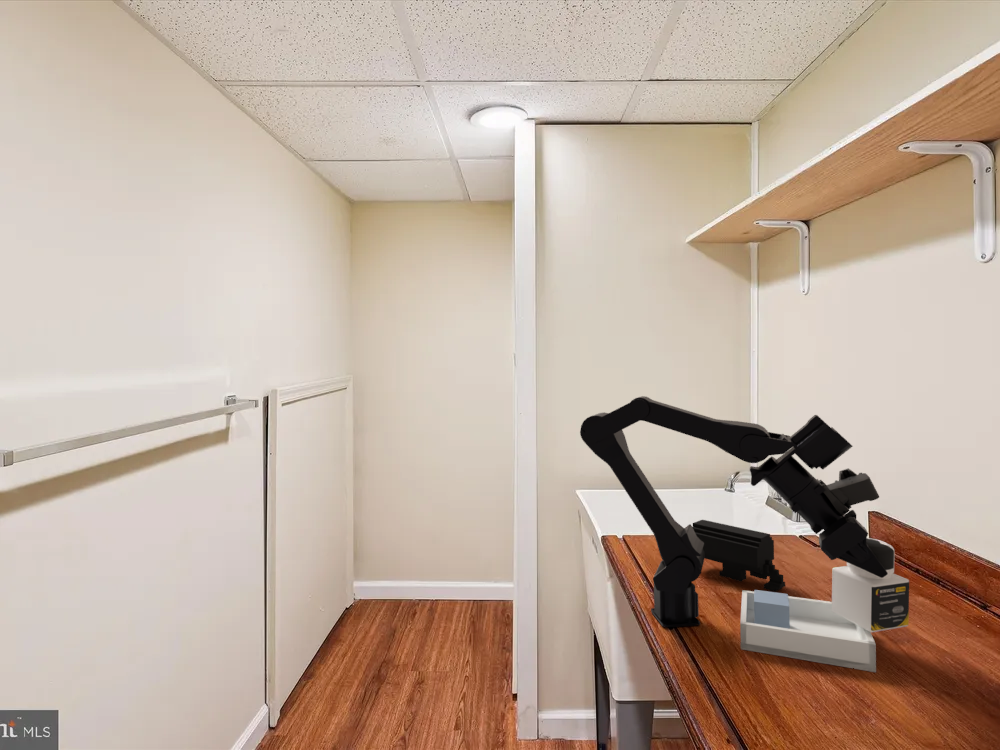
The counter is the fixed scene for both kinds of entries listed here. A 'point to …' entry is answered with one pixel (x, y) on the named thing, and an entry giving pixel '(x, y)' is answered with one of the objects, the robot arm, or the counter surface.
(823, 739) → the counter surface
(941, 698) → the counter surface
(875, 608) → the medicine bottle
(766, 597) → the block
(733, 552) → the security camera
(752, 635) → the tote
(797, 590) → the counter surface
